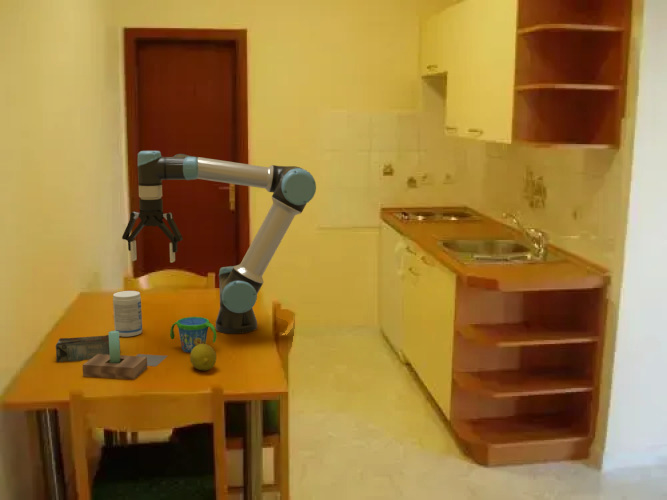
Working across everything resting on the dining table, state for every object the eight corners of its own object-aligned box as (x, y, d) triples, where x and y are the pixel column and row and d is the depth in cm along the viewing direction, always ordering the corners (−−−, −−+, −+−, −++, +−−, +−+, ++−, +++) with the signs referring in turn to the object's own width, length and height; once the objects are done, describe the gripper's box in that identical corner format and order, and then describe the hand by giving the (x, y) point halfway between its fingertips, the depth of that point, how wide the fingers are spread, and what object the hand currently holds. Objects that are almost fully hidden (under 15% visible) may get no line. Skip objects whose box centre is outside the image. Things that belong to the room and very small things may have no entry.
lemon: (218, 374, 225) (217, 349, 224) (191, 376, 224) (191, 350, 222) (214, 362, 236) (214, 338, 234) (189, 364, 234) (188, 340, 232)
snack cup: (222, 347, 250) (221, 318, 248) (207, 357, 240) (207, 327, 238) (180, 343, 255) (179, 314, 253) (164, 352, 245) (163, 322, 243)
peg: (122, 372, 227) (120, 331, 224) (118, 375, 224) (116, 333, 221) (113, 371, 227) (111, 330, 225) (108, 374, 224) (106, 333, 222)
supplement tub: (146, 334, 264) (144, 294, 261) (119, 339, 259) (117, 298, 256) (137, 328, 272) (135, 289, 269) (111, 332, 267) (109, 292, 264)
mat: (167, 357, 241) (167, 355, 240) (156, 367, 231) (156, 366, 231) (138, 355, 242) (138, 354, 242) (125, 365, 232) (125, 364, 232)
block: (147, 369, 229) (146, 356, 228) (134, 380, 219) (133, 367, 219) (98, 366, 231) (97, 354, 231) (83, 377, 222) (82, 364, 221)
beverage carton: (59, 355, 242) (58, 335, 241) (120, 351, 246) (120, 332, 245) (56, 363, 235) (54, 343, 234) (119, 359, 239) (118, 339, 237)
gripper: (190, 197, 247) (192, 260, 251) (119, 195, 251) (122, 257, 255) (183, 200, 240) (185, 264, 244) (110, 198, 243) (113, 261, 247)
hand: (153, 261), depth 249 cm, fingers open, 13 cm apart
